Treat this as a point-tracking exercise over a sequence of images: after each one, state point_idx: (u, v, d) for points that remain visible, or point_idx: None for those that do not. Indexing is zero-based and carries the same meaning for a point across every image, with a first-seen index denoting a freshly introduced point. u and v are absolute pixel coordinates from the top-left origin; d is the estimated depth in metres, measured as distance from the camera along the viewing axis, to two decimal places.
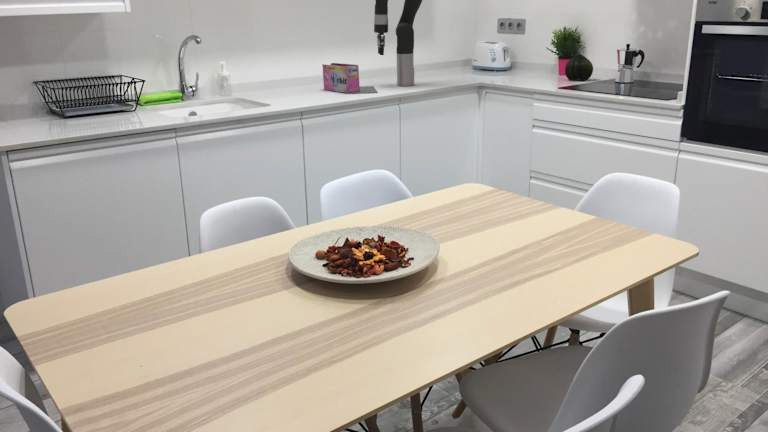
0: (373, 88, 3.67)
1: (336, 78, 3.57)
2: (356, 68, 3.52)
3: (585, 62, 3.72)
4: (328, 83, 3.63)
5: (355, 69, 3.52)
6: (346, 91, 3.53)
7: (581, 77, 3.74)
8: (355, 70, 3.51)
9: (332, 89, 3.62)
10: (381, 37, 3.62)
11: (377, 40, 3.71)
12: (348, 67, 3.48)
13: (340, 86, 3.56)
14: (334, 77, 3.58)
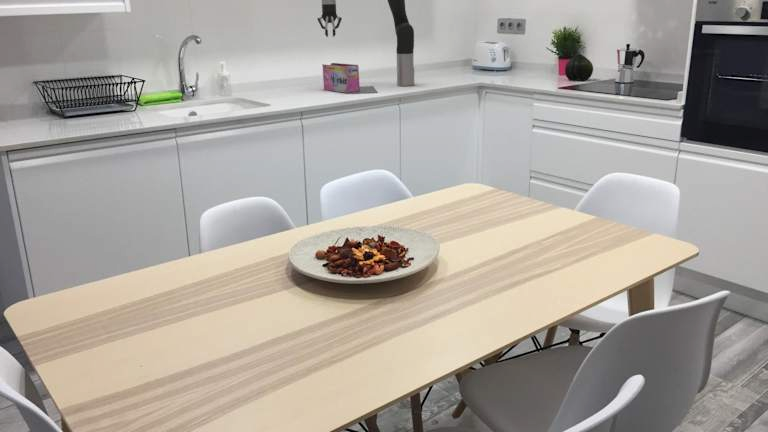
0: (373, 88, 3.67)
1: (336, 78, 3.57)
2: (356, 68, 3.52)
3: (585, 62, 3.72)
4: (328, 83, 3.63)
5: (355, 69, 3.52)
6: (346, 91, 3.53)
7: (581, 77, 3.74)
8: (355, 70, 3.51)
9: (332, 89, 3.62)
10: (341, 19, 3.69)
11: (327, 21, 3.67)
12: (348, 67, 3.48)
13: (340, 86, 3.56)
14: (334, 77, 3.58)
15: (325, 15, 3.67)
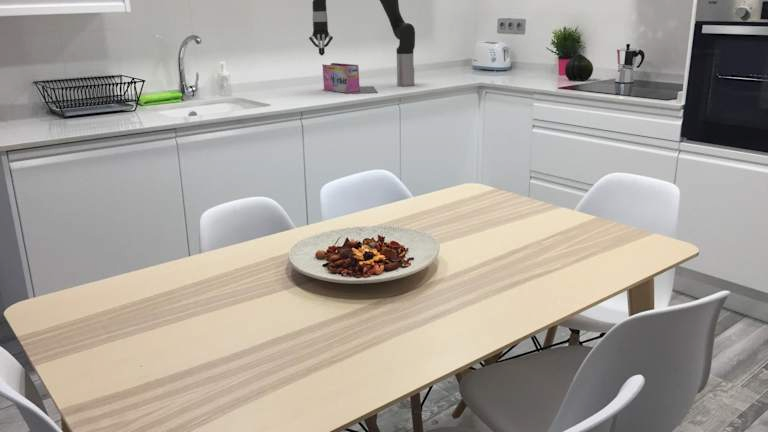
0: (373, 88, 3.67)
1: (336, 78, 3.57)
2: (356, 68, 3.52)
3: (585, 62, 3.72)
4: (328, 83, 3.63)
5: (355, 69, 3.52)
6: (346, 91, 3.53)
7: (581, 77, 3.74)
8: (355, 70, 3.51)
9: (332, 89, 3.62)
10: None
11: (319, 39, 3.52)
12: (348, 67, 3.48)
13: (340, 86, 3.56)
14: (334, 77, 3.58)
15: (316, 33, 3.51)
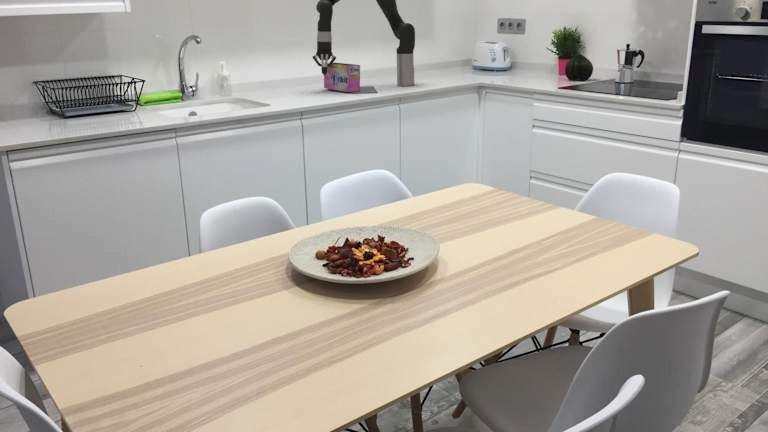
0: (373, 88, 3.67)
1: (337, 76, 3.57)
2: (358, 68, 3.52)
3: (585, 62, 3.72)
4: (329, 82, 3.63)
5: (357, 68, 3.52)
6: (346, 90, 3.53)
7: (581, 77, 3.74)
8: (356, 70, 3.52)
9: (332, 88, 3.62)
10: None
11: (323, 58, 3.55)
12: (350, 66, 3.49)
13: (341, 85, 3.56)
14: (335, 76, 3.58)
15: (320, 52, 3.55)
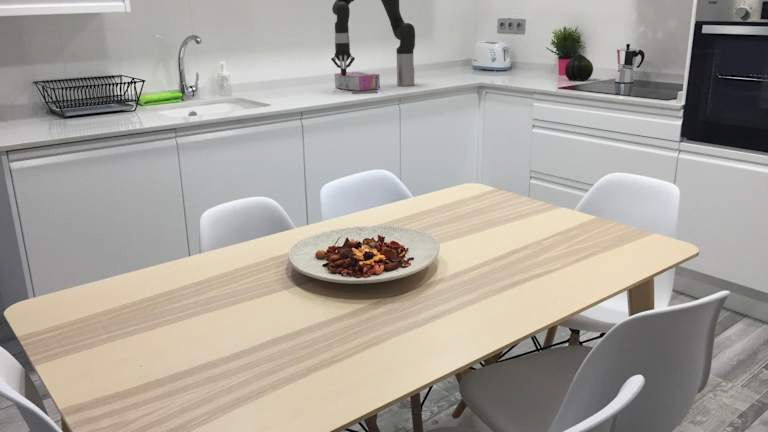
0: None
1: (358, 73, 3.65)
2: (377, 86, 3.63)
3: (585, 62, 3.72)
4: None
5: (377, 85, 3.62)
6: (357, 75, 3.56)
7: (581, 77, 3.74)
8: (375, 84, 3.62)
9: None
10: (353, 59, 3.58)
11: (341, 60, 3.56)
12: (378, 76, 3.62)
13: (356, 74, 3.60)
14: (357, 73, 3.66)
15: (338, 54, 3.55)
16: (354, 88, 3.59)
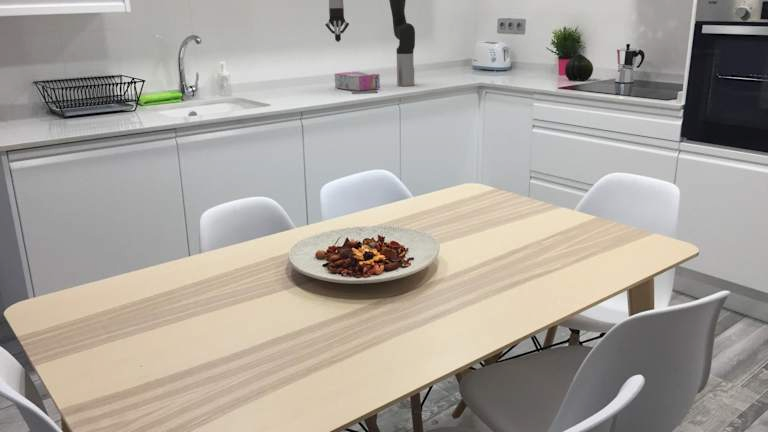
0: None
1: (358, 73, 3.65)
2: (377, 86, 3.63)
3: (585, 62, 3.72)
4: (345, 73, 3.69)
5: (377, 85, 3.62)
6: (357, 75, 3.56)
7: (581, 77, 3.74)
8: (375, 84, 3.62)
9: (344, 74, 3.65)
10: None
11: (336, 25, 3.56)
12: (378, 76, 3.62)
13: (356, 74, 3.60)
14: (357, 73, 3.66)
15: (332, 19, 3.55)
16: (354, 88, 3.59)
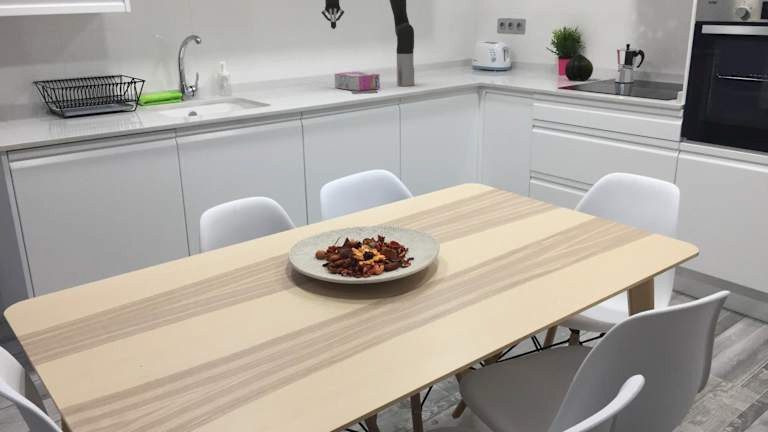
0: None
1: (358, 73, 3.65)
2: (377, 86, 3.63)
3: (585, 62, 3.72)
4: (345, 73, 3.69)
5: (377, 85, 3.62)
6: (357, 75, 3.56)
7: (581, 77, 3.74)
8: (375, 84, 3.62)
9: (344, 74, 3.65)
10: None
11: (331, 13, 3.68)
12: (378, 76, 3.62)
13: (356, 74, 3.60)
14: (357, 73, 3.66)
15: (328, 7, 3.68)
16: (354, 88, 3.59)
